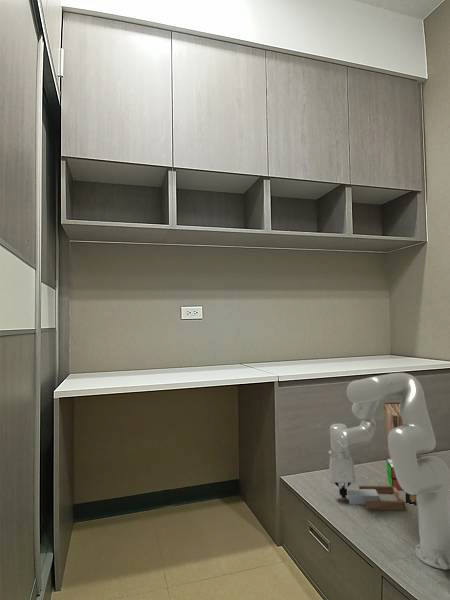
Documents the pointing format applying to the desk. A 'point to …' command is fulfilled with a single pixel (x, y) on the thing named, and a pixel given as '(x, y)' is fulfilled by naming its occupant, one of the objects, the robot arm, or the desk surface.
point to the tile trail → (355, 496)
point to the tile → (370, 495)
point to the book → (392, 418)
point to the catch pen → (385, 504)
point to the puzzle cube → (392, 475)
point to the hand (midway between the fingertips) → (343, 496)
